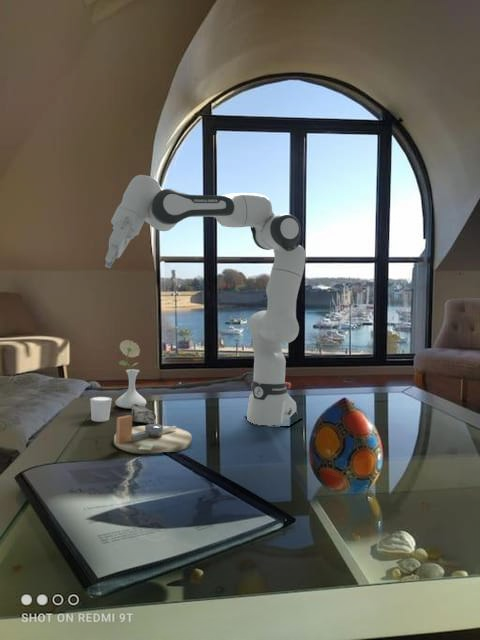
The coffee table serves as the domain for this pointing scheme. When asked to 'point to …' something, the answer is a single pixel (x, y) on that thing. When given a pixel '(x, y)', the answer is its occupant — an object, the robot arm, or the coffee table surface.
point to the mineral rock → (142, 414)
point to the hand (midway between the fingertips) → (107, 264)
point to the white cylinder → (100, 408)
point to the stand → (157, 442)
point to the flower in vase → (130, 377)
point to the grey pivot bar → (151, 430)
